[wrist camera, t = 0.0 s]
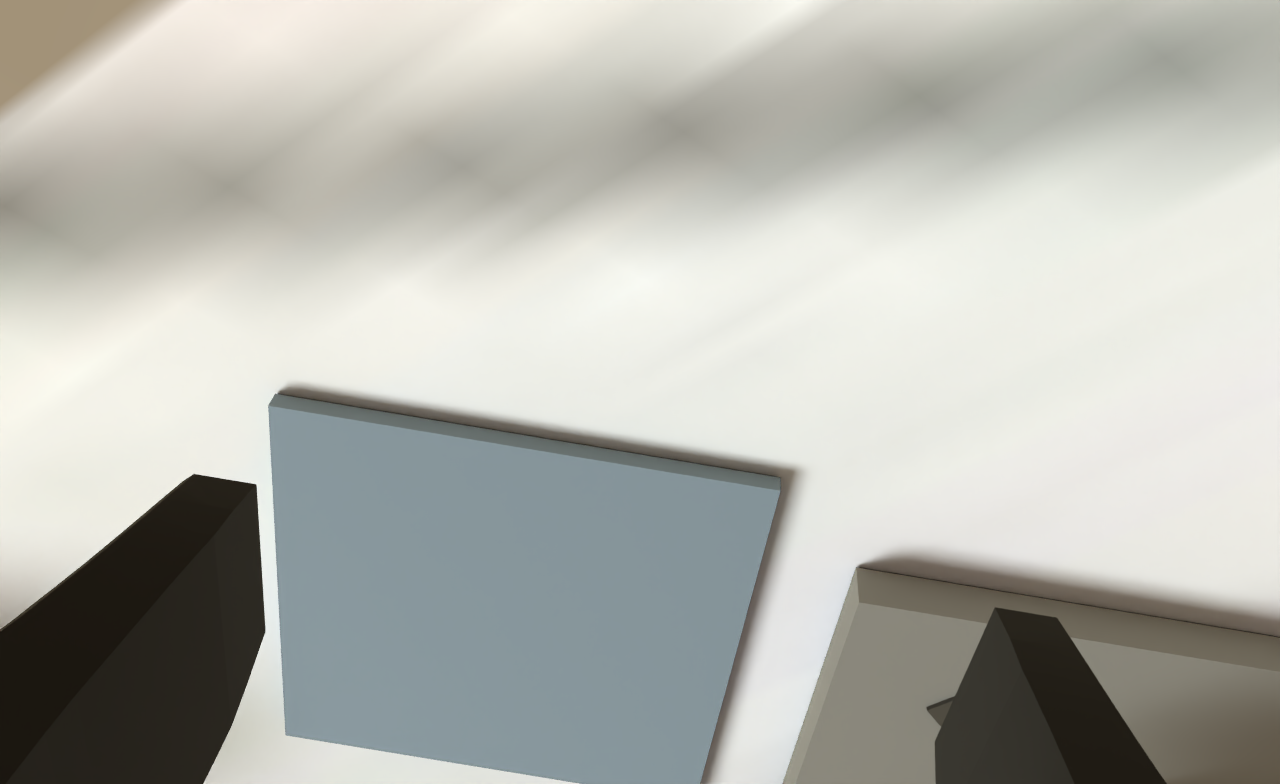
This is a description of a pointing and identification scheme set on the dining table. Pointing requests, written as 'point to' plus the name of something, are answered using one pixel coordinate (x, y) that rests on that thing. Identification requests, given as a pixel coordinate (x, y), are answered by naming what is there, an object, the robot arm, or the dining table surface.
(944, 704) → the cover plate
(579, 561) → the pad
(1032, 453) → the dining table surface
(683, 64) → the dining table surface
